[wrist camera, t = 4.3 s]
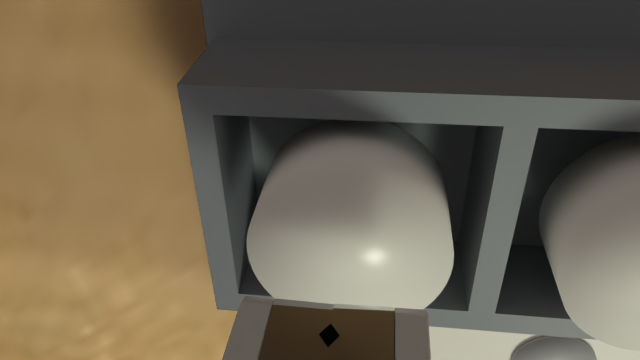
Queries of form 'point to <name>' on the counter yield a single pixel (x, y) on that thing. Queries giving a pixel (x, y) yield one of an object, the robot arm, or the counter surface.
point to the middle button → (598, 240)
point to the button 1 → (353, 219)
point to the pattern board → (423, 135)
